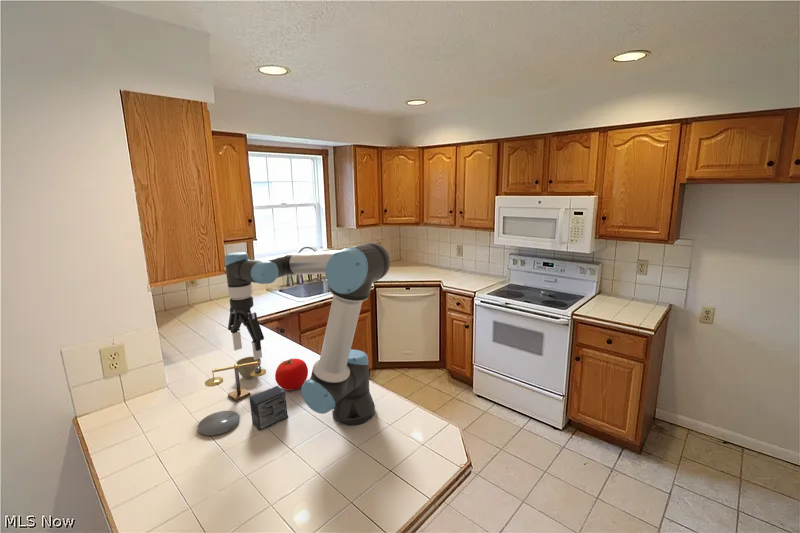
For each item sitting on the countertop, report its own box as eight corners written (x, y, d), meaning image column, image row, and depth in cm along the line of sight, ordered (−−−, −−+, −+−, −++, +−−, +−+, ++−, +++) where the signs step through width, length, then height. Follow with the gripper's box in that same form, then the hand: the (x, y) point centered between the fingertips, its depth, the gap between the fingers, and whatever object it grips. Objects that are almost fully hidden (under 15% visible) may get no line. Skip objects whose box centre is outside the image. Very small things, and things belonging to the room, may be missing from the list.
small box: (279, 410, 138) (277, 384, 136) (288, 418, 134) (286, 391, 131) (251, 423, 131) (248, 396, 129) (259, 432, 126) (256, 403, 124)
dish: (247, 422, 131) (246, 419, 131) (209, 442, 121) (208, 438, 121) (228, 409, 139) (227, 406, 139) (191, 427, 129) (190, 423, 129)
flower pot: (253, 383, 158) (252, 367, 156) (232, 381, 160) (230, 365, 158) (266, 372, 167) (265, 357, 166) (246, 370, 169) (244, 355, 168)
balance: (270, 385, 156) (267, 352, 153) (213, 412, 138) (208, 375, 134) (262, 381, 159) (258, 349, 156) (205, 407, 141) (200, 370, 138)
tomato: (315, 385, 155) (314, 359, 153) (285, 399, 146) (283, 371, 143) (299, 375, 164) (297, 351, 161) (269, 388, 154) (267, 362, 152)
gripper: (270, 299, 127) (276, 358, 132) (233, 289, 143) (239, 342, 147) (249, 305, 122) (257, 366, 126) (213, 294, 137) (220, 348, 141)
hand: (247, 353), depth 137 cm, fingers open, 13 cm apart
